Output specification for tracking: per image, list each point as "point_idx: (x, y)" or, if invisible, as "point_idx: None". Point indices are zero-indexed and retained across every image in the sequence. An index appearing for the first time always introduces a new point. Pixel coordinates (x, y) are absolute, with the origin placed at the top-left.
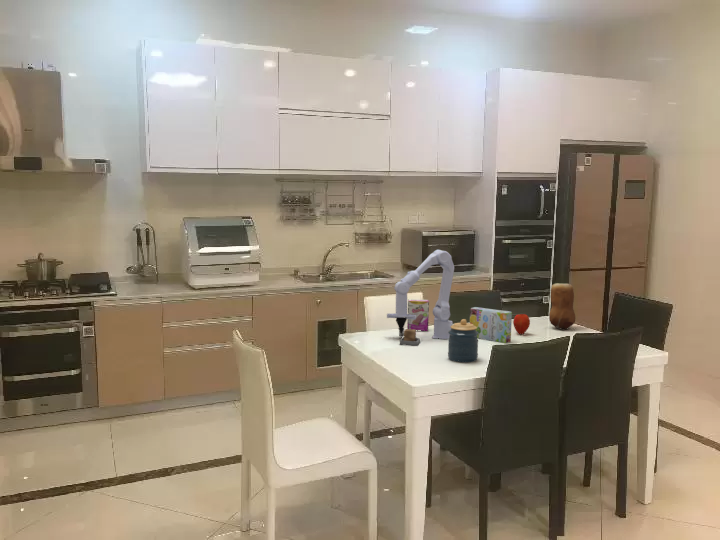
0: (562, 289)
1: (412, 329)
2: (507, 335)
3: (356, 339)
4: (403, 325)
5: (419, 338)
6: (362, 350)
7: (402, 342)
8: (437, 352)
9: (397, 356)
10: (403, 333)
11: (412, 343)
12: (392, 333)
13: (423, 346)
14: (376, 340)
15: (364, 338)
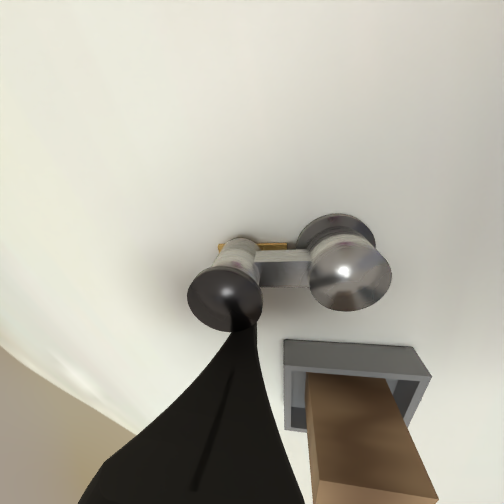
0: None
1: (395, 495)
2: None
3: (46, 347)
4: (255, 386)
5: (424, 384)
6: None
7: (300, 419)
8: (490, 482)
9: (312, 500)
10: (261, 284)
11: None
12: (92, 87)
13: (427, 418)
14: (136, 349)
15: (57, 323)
